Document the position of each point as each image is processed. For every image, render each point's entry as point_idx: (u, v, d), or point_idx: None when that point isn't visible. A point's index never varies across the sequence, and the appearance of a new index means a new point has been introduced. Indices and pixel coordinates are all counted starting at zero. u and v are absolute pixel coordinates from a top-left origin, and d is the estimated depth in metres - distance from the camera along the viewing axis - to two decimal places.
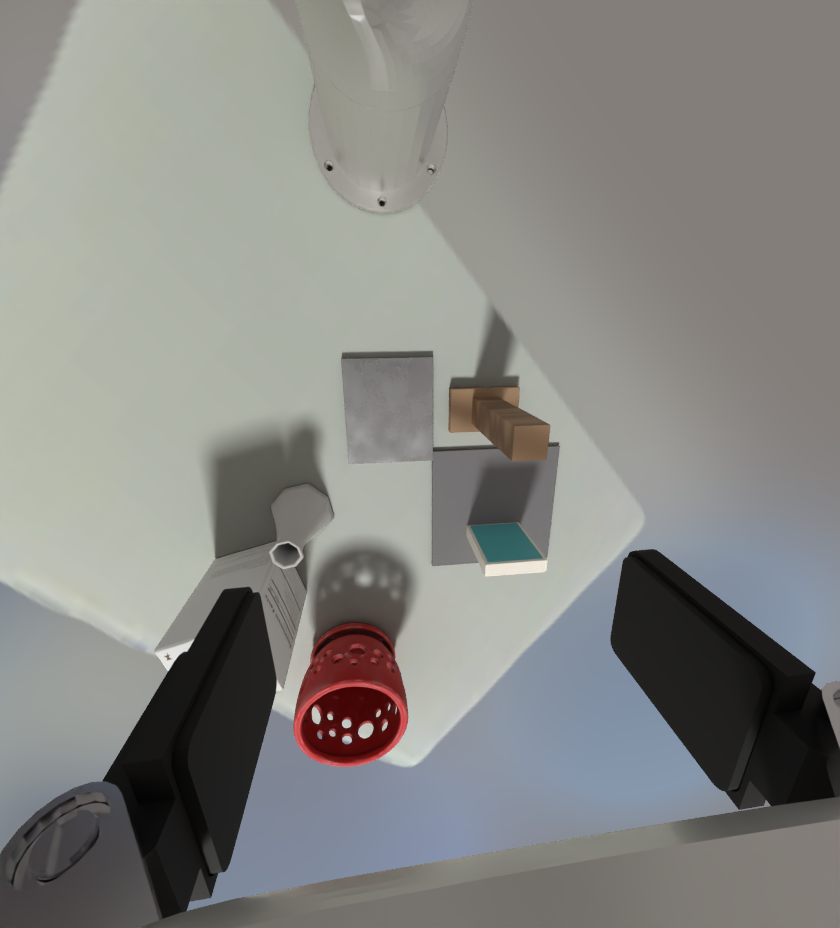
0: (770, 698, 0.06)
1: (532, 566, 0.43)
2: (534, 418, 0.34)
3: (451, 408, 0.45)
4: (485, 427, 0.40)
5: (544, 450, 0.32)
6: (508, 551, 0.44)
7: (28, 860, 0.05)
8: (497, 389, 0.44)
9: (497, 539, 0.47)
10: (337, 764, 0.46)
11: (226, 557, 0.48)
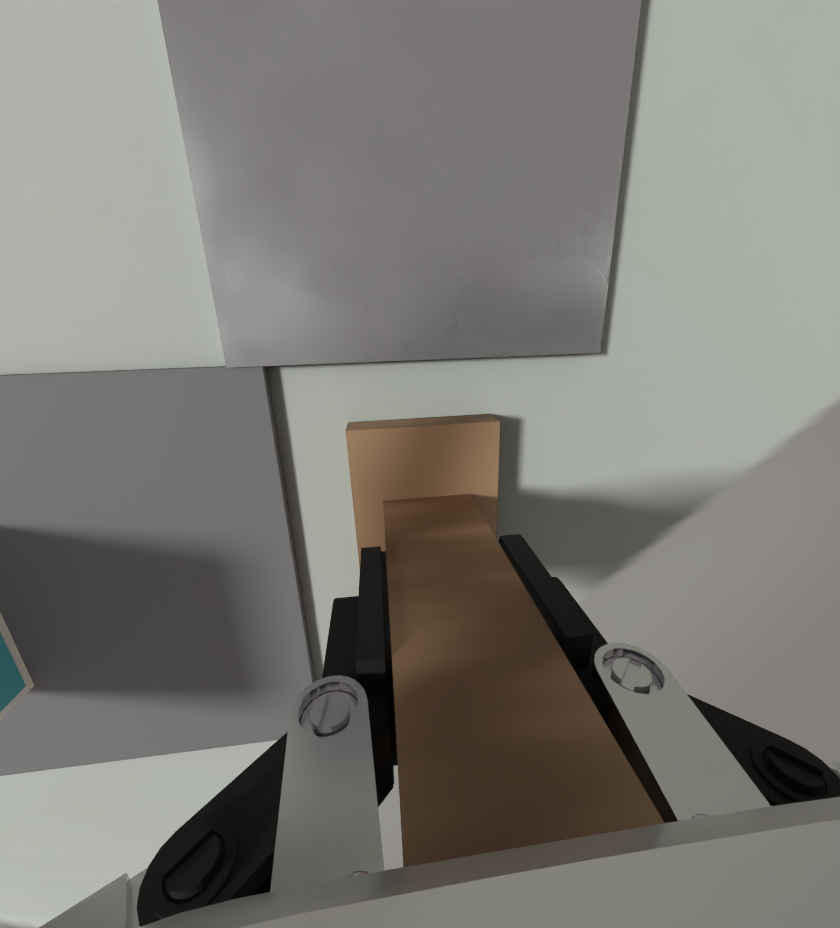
0: None
1: None
2: None
3: (434, 427, 0.13)
4: (434, 617, 0.08)
5: None
6: None
7: (309, 712, 0.06)
8: None
9: None
10: None
11: None
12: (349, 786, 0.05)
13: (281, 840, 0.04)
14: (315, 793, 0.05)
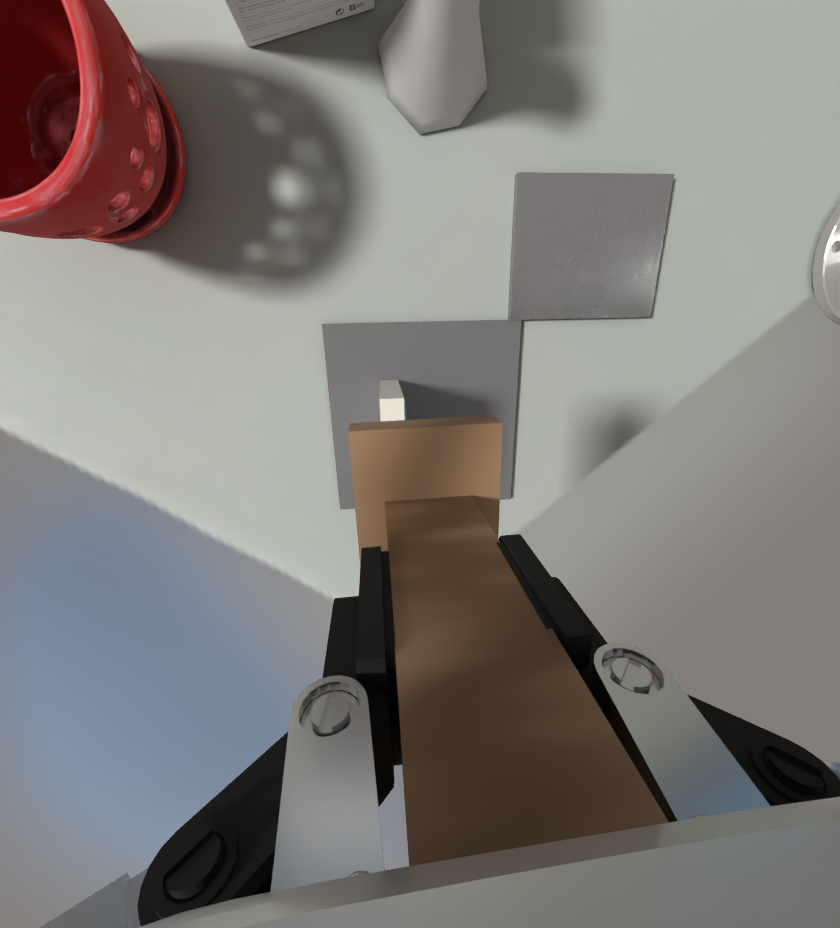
0: None
1: None
2: None
3: (436, 428, 0.13)
4: (437, 619, 0.08)
5: None
6: None
7: (310, 712, 0.06)
8: None
9: None
10: None
11: None
12: (350, 786, 0.05)
13: (281, 840, 0.04)
14: (315, 793, 0.05)
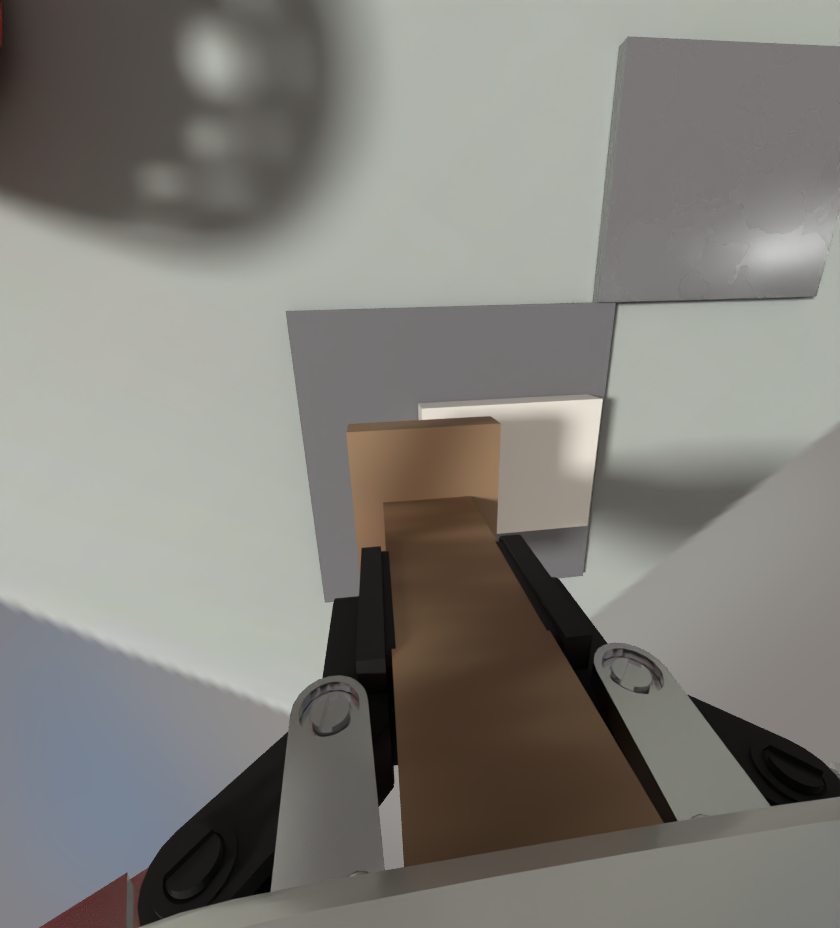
0: None
1: None
2: None
3: (434, 429, 0.13)
4: (434, 620, 0.08)
5: None
6: None
7: (310, 712, 0.06)
8: None
9: None
10: None
11: None
12: (350, 786, 0.05)
13: (281, 840, 0.04)
14: (315, 793, 0.05)
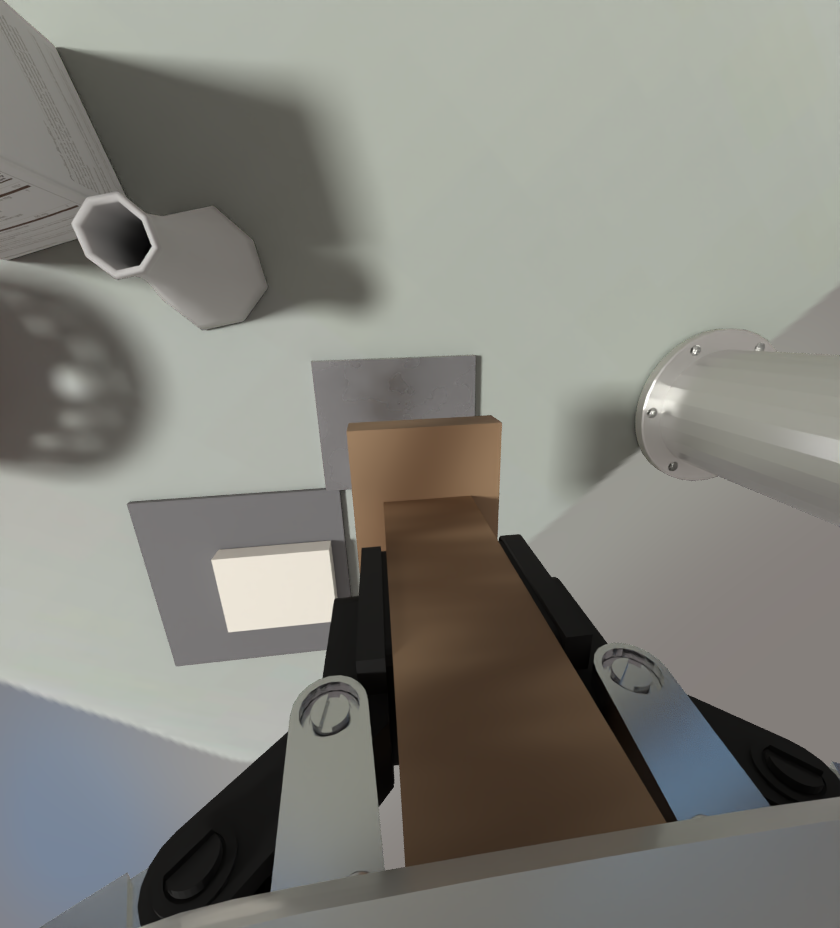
0: None
1: None
2: None
3: (435, 428, 0.13)
4: (435, 620, 0.08)
5: None
6: None
7: (310, 711, 0.06)
8: None
9: None
10: None
11: (65, 76, 0.21)
12: (350, 786, 0.05)
13: (282, 840, 0.04)
14: (316, 793, 0.05)
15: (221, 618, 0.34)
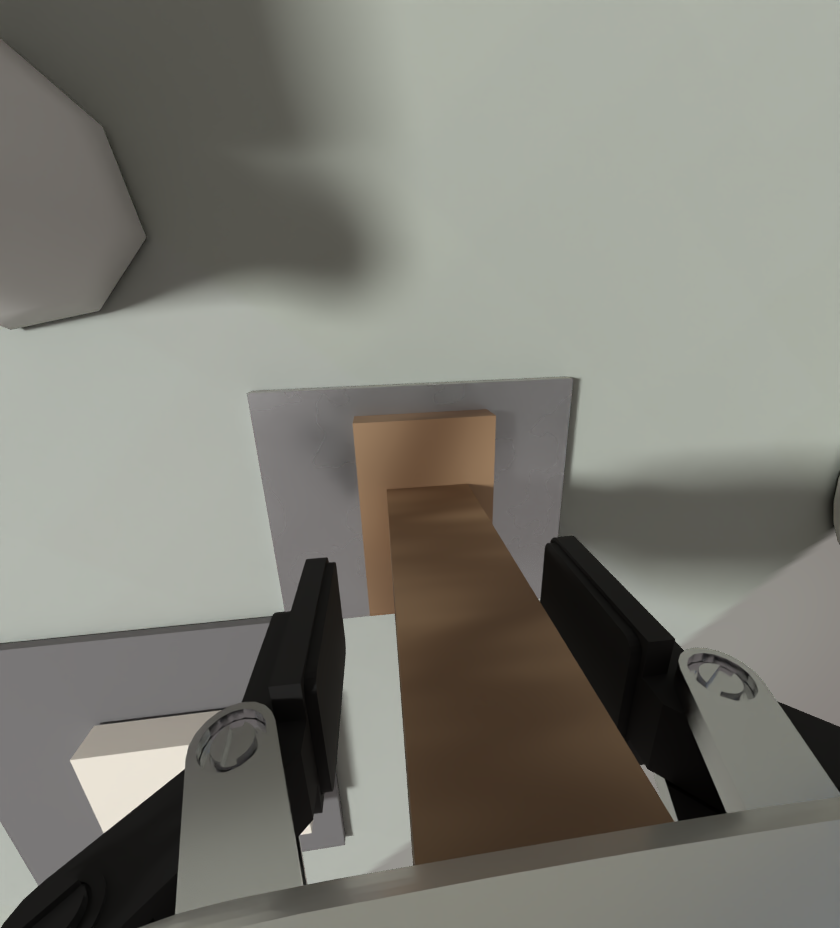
0: (638, 663, 0.07)
1: None
2: None
3: (434, 421, 0.14)
4: (433, 586, 0.09)
5: None
6: None
7: (210, 748, 0.06)
8: None
9: None
10: None
11: None
12: (231, 832, 0.05)
13: (182, 896, 0.04)
14: (220, 833, 0.05)
15: None
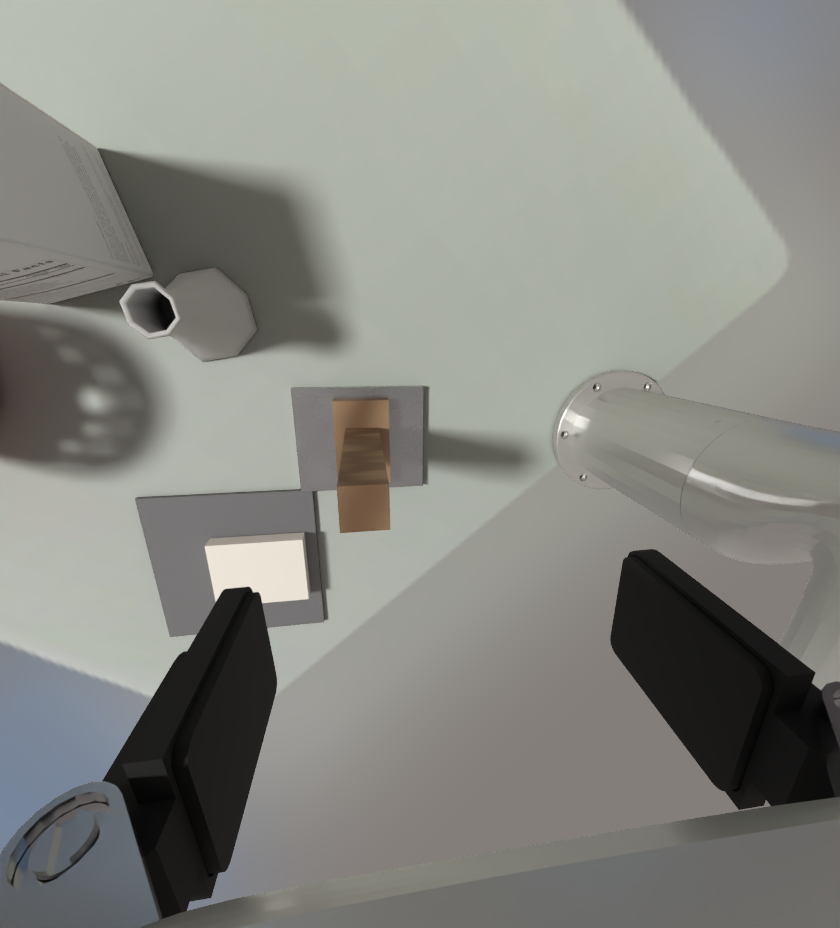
0: (770, 698, 0.06)
1: (308, 580, 0.41)
2: None
3: (364, 401, 0.35)
4: (354, 446, 0.30)
5: (354, 527, 0.23)
6: None
7: (28, 860, 0.05)
8: (388, 456, 0.37)
9: None
10: None
11: (104, 171, 0.28)
12: None
13: None
14: None
15: (210, 596, 0.40)
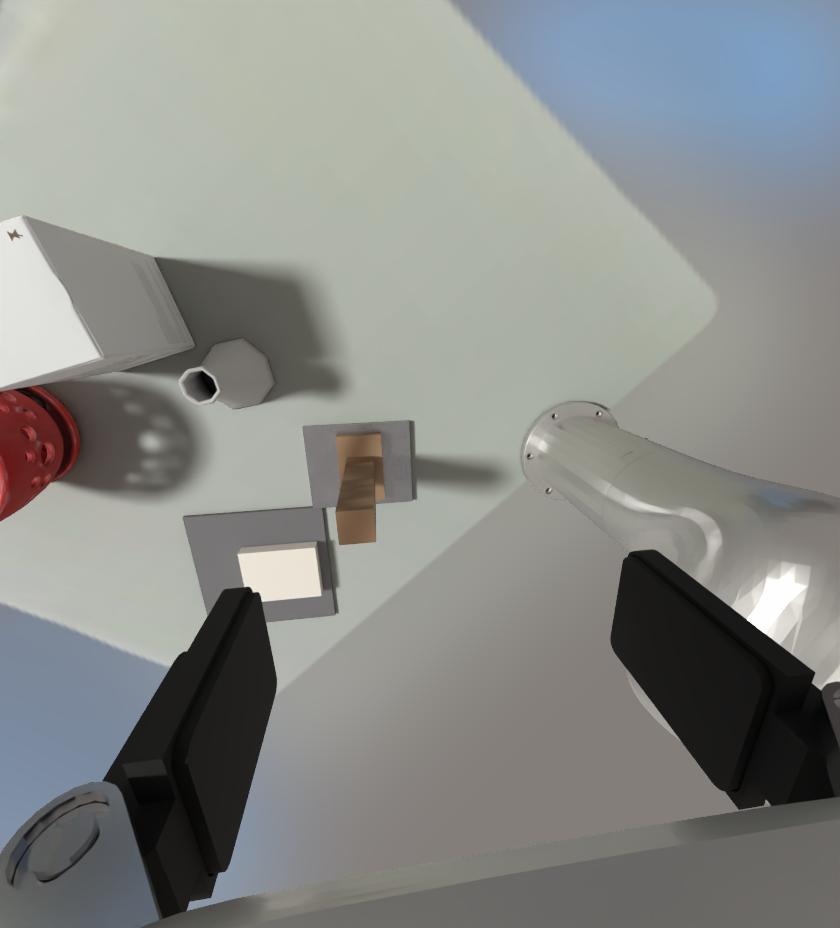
0: (770, 698, 0.06)
1: (320, 580, 0.49)
2: (375, 524, 0.34)
3: (361, 436, 0.43)
4: (351, 475, 0.39)
5: (349, 541, 0.32)
6: None
7: (28, 860, 0.05)
8: (382, 479, 0.45)
9: None
10: None
11: (159, 274, 0.37)
12: None
13: None
14: None
15: None
